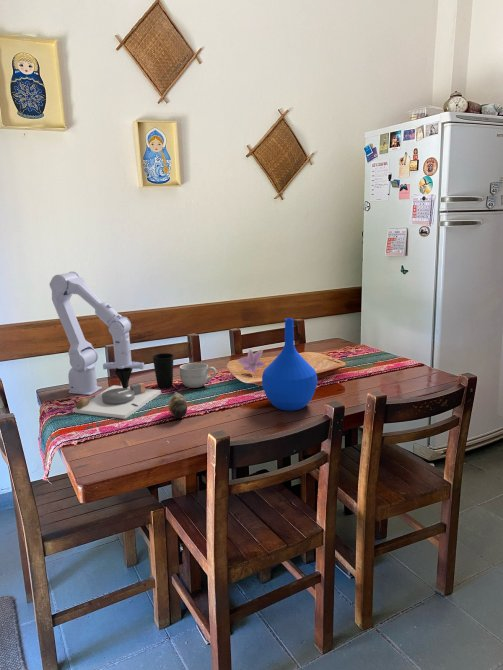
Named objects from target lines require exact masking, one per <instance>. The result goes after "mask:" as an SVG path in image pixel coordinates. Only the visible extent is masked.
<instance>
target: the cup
mask: <svg viewBox="0 0 503 670" xmlns="http://www.w3.org/2000/svg"><path fill="white" fill-rule="evenodd" d="M174 356H175V355H174V354H173V353H170V352H169V353H168V352H167V353H166V352H165V353H163V352H161V353H157V354H154V355H153V356H152V361H153V362H152V363H153V367H154V374H155V379H156V385H157V389H159V388H160V389H159V390H168V389H171V388H172V387H173V385H174V384H173V383H174V381H173V380H174Z"/></svg>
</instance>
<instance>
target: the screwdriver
mask: <svg viewBox="0 0 503 670" xmlns="http://www.w3.org/2000/svg"><path fill="white" fill-rule="evenodd" d="M95 396H96V394H95V395H92V396H91V397H89V398H88V397H83V398H82V399H80V400H79V401H77V402H76V403H75V404H74V405H75V406H74V407H76V408H77V409H81V408H82V407H84V406H86V405H87V404H89V402H90V401H89V400H91V399H93V398H94V397H95Z"/></svg>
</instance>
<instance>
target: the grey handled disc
mask: <svg viewBox="0 0 503 670" xmlns="http://www.w3.org/2000/svg"><path fill="white" fill-rule="evenodd" d="M129 387H130V389H129V388H117V389H111V390H108V391H106V392H104V393H103V394H102V401H103V402H104V403H106V404H122V403H126V402H129V401H131V400H133V399H134V398H135V394H139V393H143V392H145V389H146V385H145V383H144V382H142V381H141V382H139V383H135V384H131V385H129Z"/></svg>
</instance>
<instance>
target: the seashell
mask: <svg viewBox="0 0 503 670" xmlns="http://www.w3.org/2000/svg"><path fill="white" fill-rule="evenodd" d="M167 408H168V411H169V413H170V414H171V416H173V417H174V418H176V419H182V418H184V417H185V416H186V414H187V412H188V403H187V401H186V399H185V397H184V396H183V395H182V394H181V393H180V392H177V391H176V392H174V393H173V394H172V395H171V396H170V398H169V400H168V404H167Z"/></svg>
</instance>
